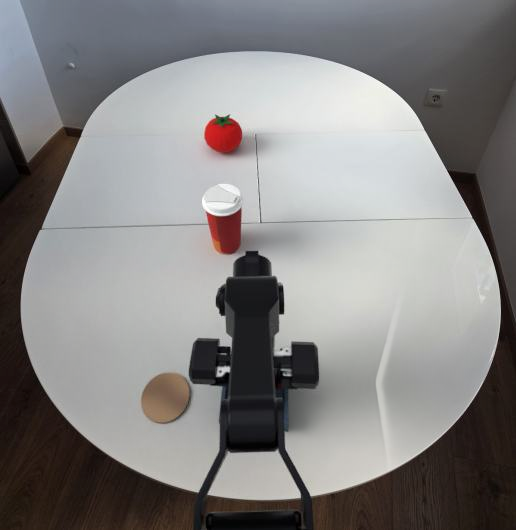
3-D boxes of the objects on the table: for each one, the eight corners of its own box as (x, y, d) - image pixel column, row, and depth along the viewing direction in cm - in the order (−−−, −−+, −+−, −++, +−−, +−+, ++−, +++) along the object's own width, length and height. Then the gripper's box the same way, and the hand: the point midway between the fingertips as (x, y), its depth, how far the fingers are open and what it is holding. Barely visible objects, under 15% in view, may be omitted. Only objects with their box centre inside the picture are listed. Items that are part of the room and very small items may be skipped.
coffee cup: (251, 235, 97) (249, 187, 87) (236, 263, 92) (233, 215, 81) (217, 225, 99) (211, 177, 89) (201, 252, 94) (193, 204, 84)
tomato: (217, 133, 125) (214, 103, 119) (249, 142, 122) (248, 112, 115) (198, 153, 119) (194, 124, 112) (232, 164, 115) (230, 134, 108)
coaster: (185, 424, 69) (185, 423, 69) (136, 422, 69) (135, 421, 69) (193, 374, 75) (192, 373, 74) (147, 372, 75) (147, 371, 75)
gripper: (318, 290, 64) (311, 340, 75) (194, 286, 65) (204, 336, 76) (323, 363, 56) (314, 408, 67) (181, 358, 57) (194, 403, 67)
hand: (255, 385), depth 69 cm, fingers closed on can, 6 cm apart
